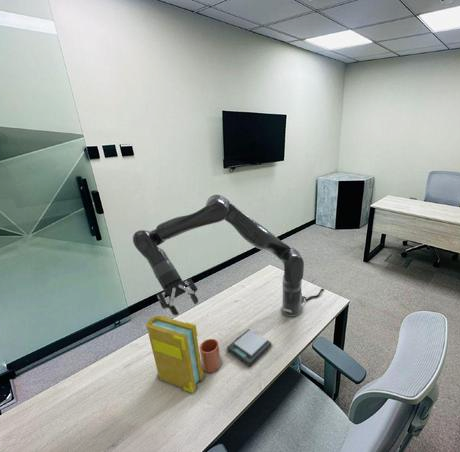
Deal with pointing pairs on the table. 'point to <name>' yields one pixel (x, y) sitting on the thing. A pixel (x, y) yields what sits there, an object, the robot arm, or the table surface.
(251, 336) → the scale
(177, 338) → the book
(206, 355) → the cup
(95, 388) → the table surface
